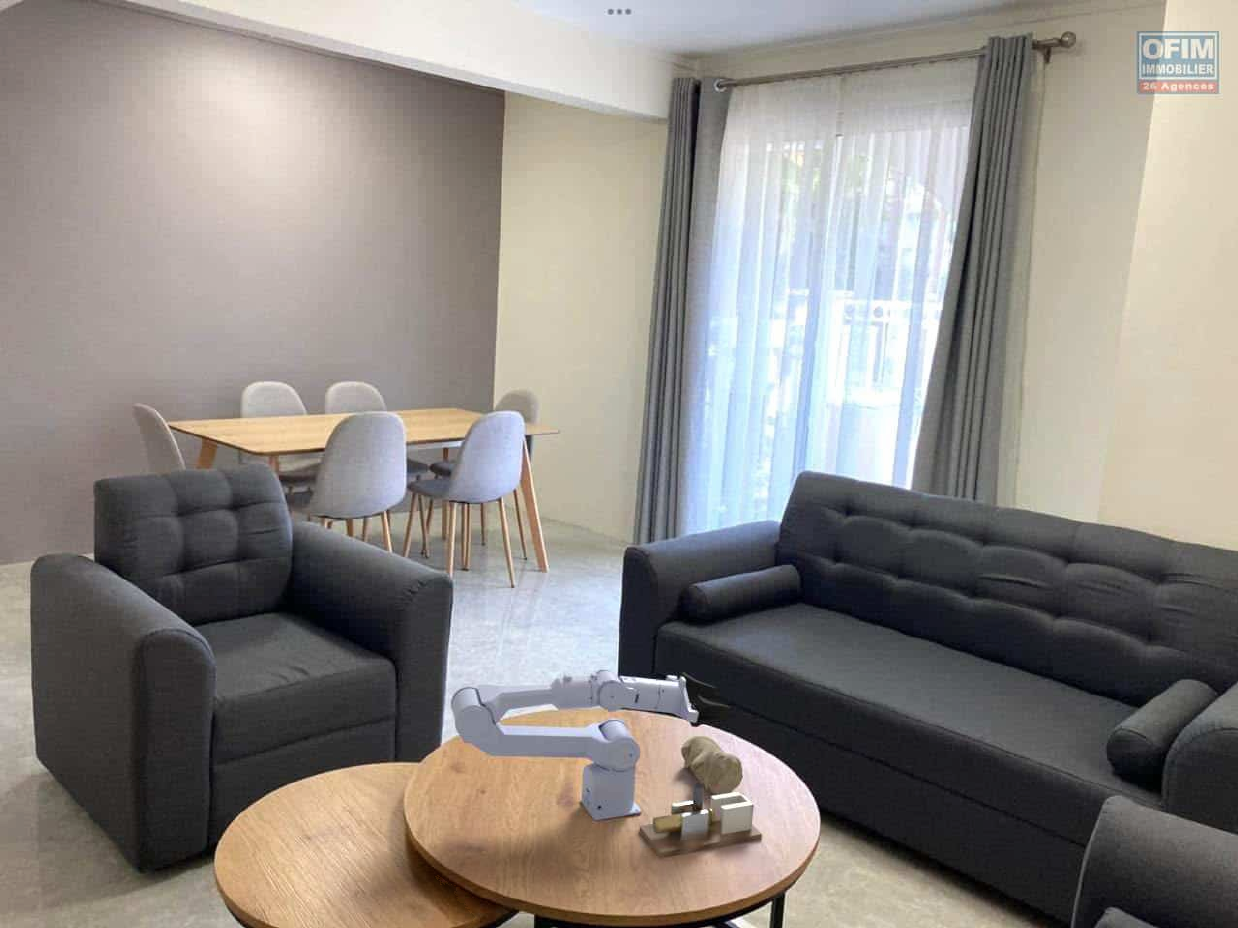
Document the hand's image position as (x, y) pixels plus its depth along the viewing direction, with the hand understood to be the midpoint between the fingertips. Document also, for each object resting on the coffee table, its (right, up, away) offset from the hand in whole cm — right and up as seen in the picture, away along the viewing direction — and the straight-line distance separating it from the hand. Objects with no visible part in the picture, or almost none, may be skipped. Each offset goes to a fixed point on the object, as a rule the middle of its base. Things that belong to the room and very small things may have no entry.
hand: (721, 702), depth 189 cm
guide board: (-5, -21, -10) cm, 24 cm away
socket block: (+1, -21, -8) cm, 23 cm away
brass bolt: (-8, -20, -12) cm, 24 cm away
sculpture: (-2, -19, +10) cm, 21 cm away
